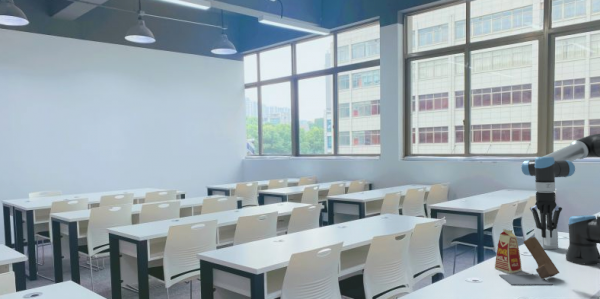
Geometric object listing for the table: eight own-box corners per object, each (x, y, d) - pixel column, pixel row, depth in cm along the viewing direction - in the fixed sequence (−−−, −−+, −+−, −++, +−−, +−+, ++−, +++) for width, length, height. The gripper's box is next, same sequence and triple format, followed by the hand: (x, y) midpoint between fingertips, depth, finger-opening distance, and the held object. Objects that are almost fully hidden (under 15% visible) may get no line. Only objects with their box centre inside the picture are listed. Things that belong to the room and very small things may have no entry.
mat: (537, 275, 194) (537, 274, 194) (552, 285, 180) (552, 283, 180) (499, 275, 195) (499, 274, 195) (511, 285, 181) (511, 284, 181)
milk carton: (510, 273, 198) (509, 230, 198) (493, 268, 206) (492, 227, 207) (523, 270, 202) (521, 228, 203) (506, 265, 211) (504, 225, 211)
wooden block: (549, 274, 183) (524, 237, 193) (541, 279, 186) (517, 242, 196) (560, 272, 188) (535, 236, 198) (551, 276, 191) (527, 241, 201)
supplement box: (559, 249, 240) (558, 222, 240) (543, 249, 240) (542, 223, 240) (549, 245, 249) (548, 220, 249) (534, 246, 249) (533, 220, 249)
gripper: (533, 192, 184) (535, 247, 183) (565, 192, 182) (567, 246, 182) (526, 191, 191) (527, 243, 191) (556, 190, 190) (558, 242, 190)
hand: (547, 244), depth 187 cm, fingers closed
